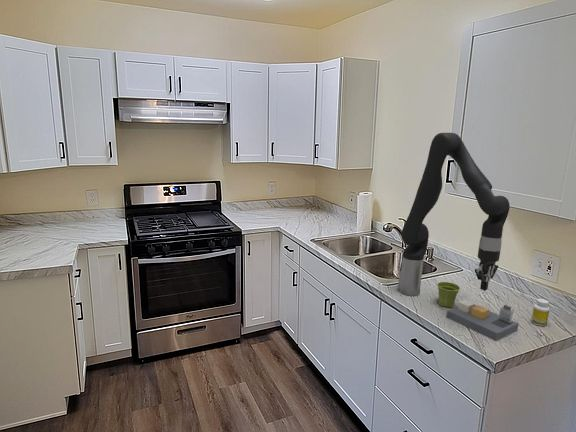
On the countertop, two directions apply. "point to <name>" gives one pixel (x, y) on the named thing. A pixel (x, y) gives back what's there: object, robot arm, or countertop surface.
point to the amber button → (480, 312)
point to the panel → (484, 323)
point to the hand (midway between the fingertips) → (483, 289)
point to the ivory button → (466, 306)
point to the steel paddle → (506, 314)
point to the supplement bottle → (540, 312)
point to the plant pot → (447, 293)
